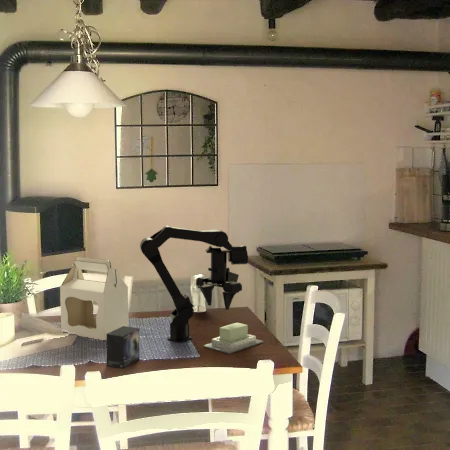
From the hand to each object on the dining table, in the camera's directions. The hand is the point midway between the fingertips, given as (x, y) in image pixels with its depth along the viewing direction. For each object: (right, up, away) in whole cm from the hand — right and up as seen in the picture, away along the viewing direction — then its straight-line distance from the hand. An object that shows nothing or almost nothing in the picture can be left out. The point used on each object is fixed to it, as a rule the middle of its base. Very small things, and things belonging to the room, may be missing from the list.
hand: (218, 307), depth 226 cm
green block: (+5, -11, -8) cm, 15 cm away
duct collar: (+6, -12, -8) cm, 16 cm away
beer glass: (-9, -7, +41) cm, 42 cm away
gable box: (-46, -11, +8) cm, 48 cm away
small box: (-30, -14, -28) cm, 43 cm away
